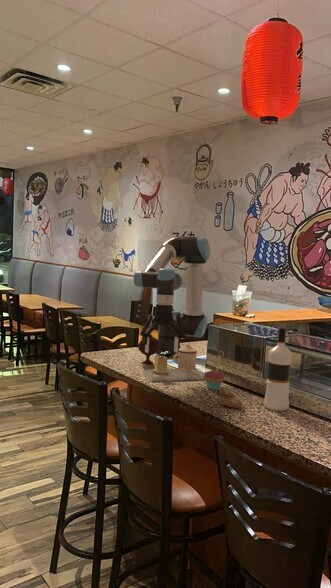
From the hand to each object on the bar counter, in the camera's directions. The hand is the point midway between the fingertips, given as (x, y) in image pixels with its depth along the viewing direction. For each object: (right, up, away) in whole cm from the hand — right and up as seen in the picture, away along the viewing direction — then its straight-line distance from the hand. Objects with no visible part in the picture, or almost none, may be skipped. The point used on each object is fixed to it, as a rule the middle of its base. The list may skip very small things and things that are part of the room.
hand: (161, 352), depth 205 cm
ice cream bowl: (-7, -9, +25) cm, 28 cm away
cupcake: (+22, -14, -11) cm, 28 cm away
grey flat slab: (+6, -11, +3) cm, 13 cm away
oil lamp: (+25, -16, -32) cm, 43 cm away
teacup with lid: (+11, -11, +20) cm, 25 cm away
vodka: (+43, -17, -32) cm, 56 cm away
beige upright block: (-1, -11, +1) cm, 11 cm away
